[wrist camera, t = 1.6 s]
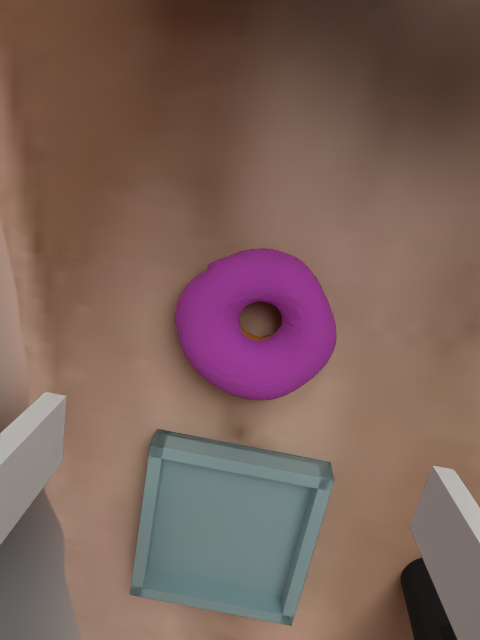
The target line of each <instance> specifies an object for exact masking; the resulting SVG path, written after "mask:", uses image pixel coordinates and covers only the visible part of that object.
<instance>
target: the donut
mask: <svg viewBox="0 0 480 640" xmlns="http://www.w3.org/2000/svg"><path fill="white" fill-rule="evenodd" d="M259 301H263V302H267V303H271V304H272V305H274V306H275V307H277V308H278V309H279V311H280V313H281V316H282V323H281V326H280V327H279V329H278V330H277V331H276V332H275V333H274V334H272V335H270V336H267V337H257V336H254V335H252V334H249V333H248V332H246V331H245V330H244V329H243V328H241V326H240V324H239V319H240V315H241V313H242V311H243V309H244V308H245V307H246V306H248V305H249V304H251V303H253V302H259ZM175 325H176V327H177V332H178V337H179V340H180V344H181V347H182V349H183V351H184V354H185V356H186V357H187V359H188V360H189V362H190V363H191V365H192V366H193V367H194V369H195V370H196V371H197V372H198V373H199V374H200V375H201V376H202V377H204V378H205V379H206V380H207V381H209V382H210V383H211V384H213V385H214V386H216V387H218V388H219V389H221V390H223V391H225V392H227V393H230V394H232V395H235V396H239V397H242V398H246V399H254V400H270V399H276V398H279V397H282V396H285V395H287V394H289V393H291V392H293V391H295V390H296V389H298V388H299V387H301V386H302V385H304V384H305V383H306V382H308V381H309V380H310V379H312V378H313V377H314V376H315V375H316V374H317V373H318V372H319V371H320V370H321V369H322V368H323V367H324V366H325V365H326V363H327V362H328V360H329V358H330V357H331V355H332V353H333V350H334V347H335V343H336V325H335V321H334V317H333V314H332V311H331V308H330V305H329V303H328V301H327V298H326V296H325V294H324V292H323V290H322V288H321V286H320V284H319V282H318V280H317V278H316V277H315V276H314V274H313V273H312V272H311V271H310V269H309V268H308V267H307V266H306V265H305V264H304V263H303V262H302V261H300V260H299V259H298V258H296V257H294V256H292V255H290V254H287V253H284V252H281V251H278V250H273V249H251V250H245V251H241V252H238V253H236V254H233V255H231V256H228V257H226V258H223V259H220V260H217V261H215V262H212V263H211V264H209V265H208V269H207V270H206V271H205V272H203V273H202V274H200V275H198V276H197V277H195V278H194V279H193V280H192V281H191V282H190V283H189V285H188V286H187V287H186V288H185V289H184V291H183V292H182V294H181V296H180V298H179V300H178V302H177V307H176V312H175Z"/></svg>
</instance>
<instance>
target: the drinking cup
mask: <svg viewBox="0 0 480 640" xmlns="http://www.w3.org/2000/svg"><path fill="white" fill-rule="evenodd" d="M401 584H402V588H403V593H404V597H405V601H406V605H407V610H408V614H409V618H410V623H411V627H412V631H413V636H414V640H457V638H456V635H455V633H454V631H453V628H452V626H451V623H450V621H449V619H448V616H447V614H446V612H445V609H444V607H443V605H442V602H441V600H440V598H439V595H438V593H437V591H436V588H435V586H434V584H433V581H432V579H431V577H430V574H429V572H428V570H427V567H426V565H425V563H424V560H423V558H420V559H417V560H415V561H413V562H412V563H410V564H409V565H408V566H407V567H406V568H405V569H404V571H403V573H402V576H401Z"/></svg>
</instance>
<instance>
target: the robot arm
mask: <svg viewBox="0 0 480 640" xmlns="http://www.w3.org/2000/svg"><path fill="white" fill-rule="evenodd" d="M66 397H67V396H64V395H59V394H53V393H48V392H45V393H44V394H42V395H41V396H40V397H39V398H38V399H37V400H36V401H35V402H34V403H33V404H32V405H31V406H29V407H28V408H27V409H26V410H25V411H24V412H23V413H22V414H21V415H20V416H19V417H17V418H16V419H15V421H13V422H12V423H11V424H10V425H9V426H8V427H7V428H6V429H5V430H3V431H2V432H1V433H0V545H1V543H2V542H3V541H4V539H5V538H6V537H7V535H8V534H9V532H10V531H11V530H12V529H13V527H14V526H15V525H16V523H17V522H18V521H19V519H20V518H21V516H22V515H23V514H24V512H25V511H26V510H27V508H28V507H29V506H30V504H31V503H32V502H33V500H34V499H35V498H36V496H37V495H38V494H39V492H40V491H41V490H42V488H43V487H44V486H45V484H46V483H47V482H48V480H49V479H50V478H51V476H52V475H53V473H54V472H55V471H56V469H57V468H58V467H59V465H60V464H61V463H62V456H63V441H64V427H65V412H66ZM410 530H411V532H412V535H413V537H414V539H415V542H416V544H417V546H418V549H419V551H420V553H421V556H422V558H423V560H424V563H425V565H426V567H427V570H428V572H429V574H430V577H431V579H432V581H433V584H434V586H435V588H436V591H437V593H438V595H439V598H440V600H441V602H442V605H443V607H444V609H445V612H446V614H447V616H448V619H449V621H450V623H451V626H452V628H453V631H454V633H455V635H456V638H457V640H480V507H479V506H478V504H477V503H476V501H475V500H474V498H473V497H472V496H471V494H470V493H469V491H468V490H467V488H466V487H465V485H464V484H463V482H462V481H461V479H460V478H459V476H458V475H457V473H456V472H455V470H454V469H449V468H444V467H438V466H432V468H431V471H430V474H429V476H428V479H427V482H426V485H425V487H424V490H423V493H422V495H421V498H420V501H419V504H418V506H417V509H416V512H415V514H414V517H413V520H412V523H411V525H410Z"/></svg>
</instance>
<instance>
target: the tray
mask: <svg viewBox="0 0 480 640" xmlns="http://www.w3.org/2000/svg"><path fill="white" fill-rule="evenodd" d="M333 483H334V477H333V473H332V468H331V464H330V462H326V461H321V460H315V459H310V458H305V457H300V456H294V455H289V454H284V453H279V452H274V451H268V450H263V449H258V448H253V447H248V446H242V445H237V444H232V443H227V442H221V441H216V440H211V439H206V438H201V437H195V436H190V435H185V434H180V433H175V432H169V431H164V430H159V429H157V431H156V433H155V435H154V438H153V440H152V442H151V444H150V450H149V457H148V465H147V472H146V479H145V487H144V494H143V502H142V509H141V516H140V524H139V531H138V538H137V546H136V553H135V560H134V568H133V575H132V583H131V590H130V595H135V596H140V597H145V598H150V599H155V600H160V601H166V602H171V603H176V604H181V605H186V606H192V607H197V608H202V609H207V610H212V611H217V612H223V613H228V614H233V615H238V616H243V617H249V618H254V619H259V620H264V621H269V622H274V623H280V624H285V625H290V626H291V625H292V622H293V618H294V615H295V612H296V608H297V605H298V602H299V598H300V595H301V591H302V588H303V585H304V581H305V578H306V574H307V571H308V568H309V564H310V561H311V557H312V554H313V551H314V547H315V544H316V541H317V537H318V534H319V530H320V527H321V524H322V520H323V517H324V513H325V510H326V507H327V503H328V500H329V497H330V493H331V490H332V486H333Z"/></svg>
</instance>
